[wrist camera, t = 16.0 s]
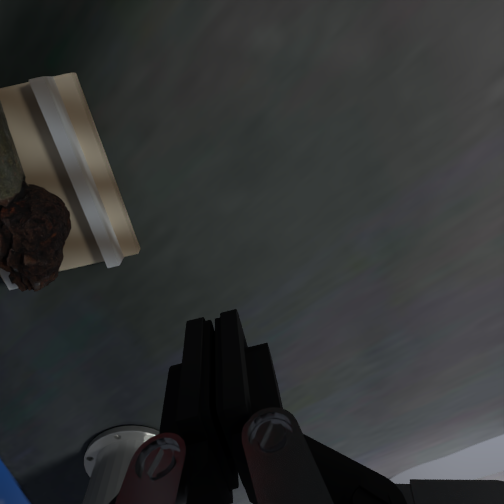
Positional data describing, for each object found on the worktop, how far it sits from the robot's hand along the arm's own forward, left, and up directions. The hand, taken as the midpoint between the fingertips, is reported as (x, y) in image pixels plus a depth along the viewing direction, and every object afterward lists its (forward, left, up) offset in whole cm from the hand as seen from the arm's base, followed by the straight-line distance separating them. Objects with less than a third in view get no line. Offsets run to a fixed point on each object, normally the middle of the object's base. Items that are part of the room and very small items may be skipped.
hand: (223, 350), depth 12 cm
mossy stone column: (+3, +17, -26) cm, 31 cm away
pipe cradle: (+2, +17, -27) cm, 32 cm away
